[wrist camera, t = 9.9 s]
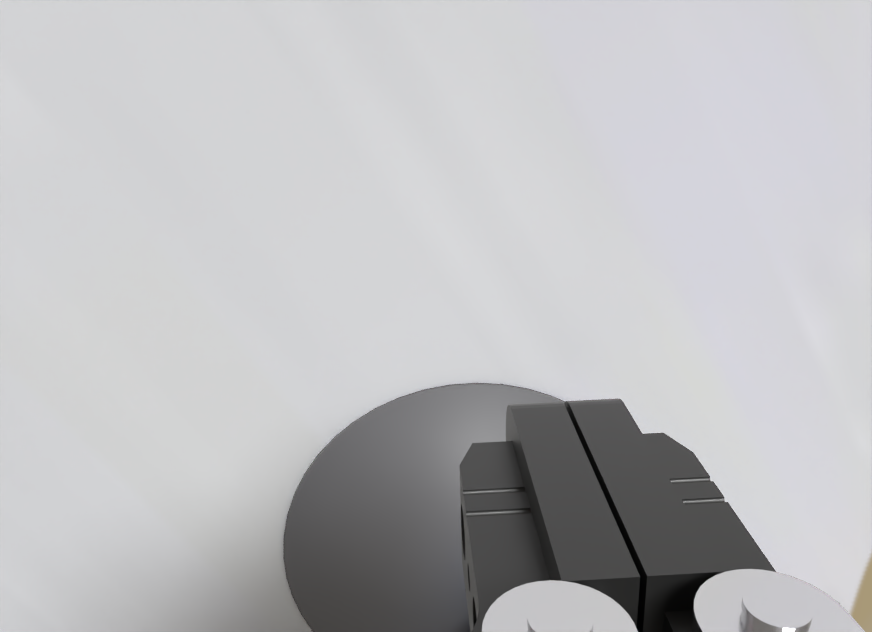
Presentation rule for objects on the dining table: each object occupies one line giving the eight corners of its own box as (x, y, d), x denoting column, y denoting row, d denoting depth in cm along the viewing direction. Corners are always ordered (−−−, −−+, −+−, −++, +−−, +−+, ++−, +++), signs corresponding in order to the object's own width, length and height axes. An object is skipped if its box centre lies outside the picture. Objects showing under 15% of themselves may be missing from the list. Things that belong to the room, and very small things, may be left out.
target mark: (434, 743, 32) (434, 747, 32) (205, 526, 28) (203, 529, 28) (720, 572, 30) (722, 576, 30) (517, 306, 26) (517, 308, 25)
